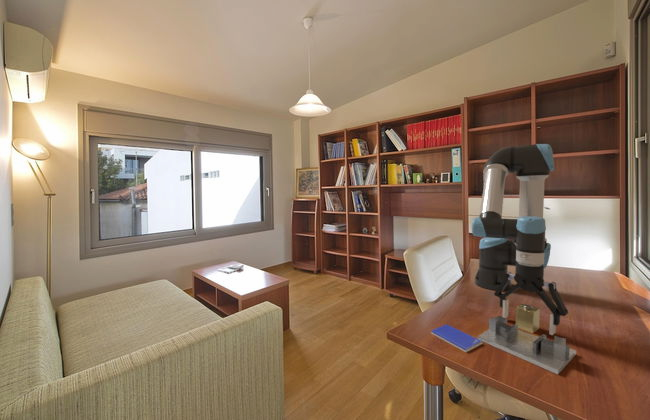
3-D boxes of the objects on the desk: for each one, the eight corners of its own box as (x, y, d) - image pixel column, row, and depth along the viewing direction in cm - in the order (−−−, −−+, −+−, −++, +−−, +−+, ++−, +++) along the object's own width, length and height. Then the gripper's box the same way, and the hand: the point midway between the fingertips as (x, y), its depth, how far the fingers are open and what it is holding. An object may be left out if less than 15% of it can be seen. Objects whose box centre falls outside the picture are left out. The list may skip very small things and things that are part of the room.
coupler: (515, 327, 93) (516, 305, 93) (521, 322, 96) (522, 301, 95) (532, 333, 89) (533, 310, 89) (539, 328, 92) (539, 306, 91)
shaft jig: (477, 339, 87) (477, 323, 86) (498, 325, 95) (499, 311, 94) (559, 375, 70) (560, 355, 69) (577, 355, 78) (577, 337, 77)
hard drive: (482, 340, 84) (447, 323, 95) (465, 348, 80) (431, 330, 91) (482, 345, 84) (447, 328, 95) (465, 354, 80) (431, 334, 91)
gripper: (484, 257, 99) (483, 314, 101) (575, 275, 78) (571, 345, 80) (494, 254, 103) (493, 308, 105) (583, 270, 82) (579, 337, 84)
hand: (527, 324), depth 93 cm, fingers open, 13 cm apart
